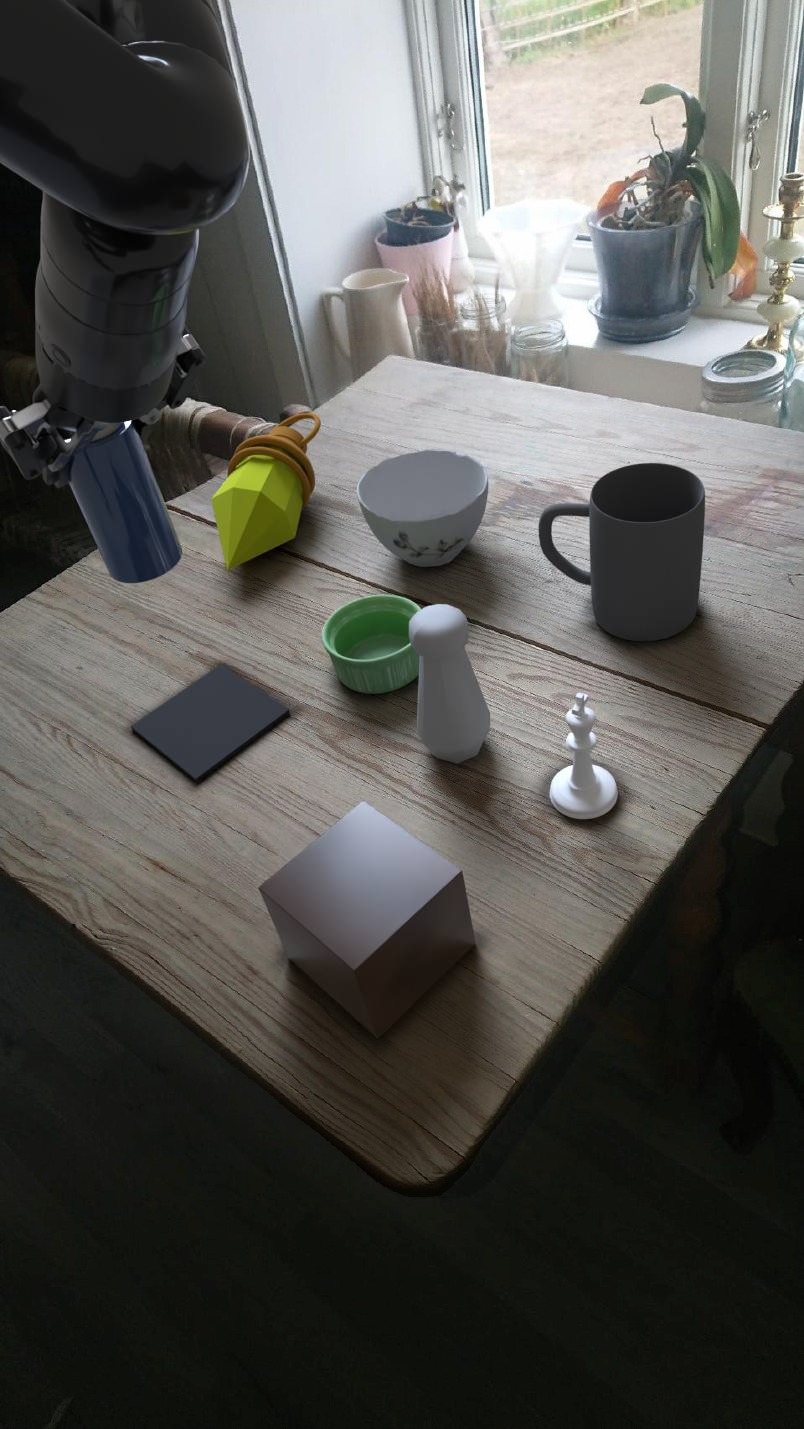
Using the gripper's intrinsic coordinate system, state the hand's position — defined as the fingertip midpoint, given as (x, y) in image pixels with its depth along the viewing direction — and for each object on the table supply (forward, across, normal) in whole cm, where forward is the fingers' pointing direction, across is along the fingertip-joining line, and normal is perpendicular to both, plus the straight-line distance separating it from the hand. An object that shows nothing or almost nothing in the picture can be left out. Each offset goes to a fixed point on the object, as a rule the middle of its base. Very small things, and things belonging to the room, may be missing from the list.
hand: (93, 454), depth 68 cm
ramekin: (+13, -14, +23) cm, 30 cm away
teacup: (+20, -30, +16) cm, 39 cm away
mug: (+5, -33, +31) cm, 46 cm away
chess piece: (-4, -15, +40) cm, 42 cm away
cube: (-3, +4, +39) cm, 39 cm away
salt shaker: (+4, -12, +32) cm, 35 cm away
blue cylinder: (+5, 0, +7) cm, 8 cm away
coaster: (+17, 0, +19) cm, 25 cm away
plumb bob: (+32, -22, +4) cm, 39 cm away
